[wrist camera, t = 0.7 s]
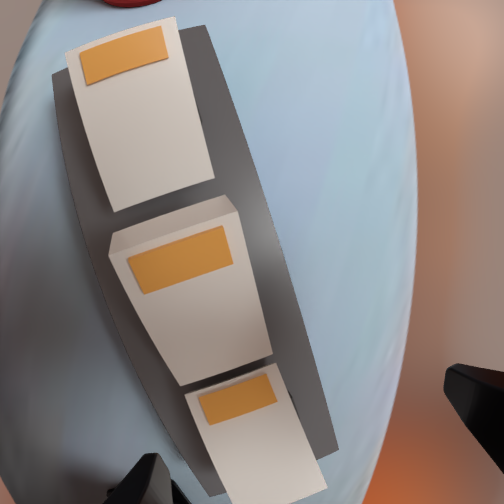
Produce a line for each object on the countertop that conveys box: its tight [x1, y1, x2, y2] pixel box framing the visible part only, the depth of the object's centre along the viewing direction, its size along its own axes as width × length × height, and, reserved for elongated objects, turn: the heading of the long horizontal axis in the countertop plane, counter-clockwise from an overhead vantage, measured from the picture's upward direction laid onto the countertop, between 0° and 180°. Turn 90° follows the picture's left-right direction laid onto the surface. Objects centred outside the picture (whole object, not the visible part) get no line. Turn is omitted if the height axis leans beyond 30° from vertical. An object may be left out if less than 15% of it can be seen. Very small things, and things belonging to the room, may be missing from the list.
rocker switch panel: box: [52, 25, 339, 497], centre depth 17 cm, size 30×9×5 cm, turn 18°
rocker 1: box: [65, 16, 215, 212], centre depth 11 cm, size 7×4×2 cm, turn 18°
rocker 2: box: [108, 195, 273, 386], centre depth 12 cm, size 7×4×2 cm, turn 18°
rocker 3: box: [185, 363, 328, 504], centre depth 13 cm, size 7×4×2 cm, turn 17°
